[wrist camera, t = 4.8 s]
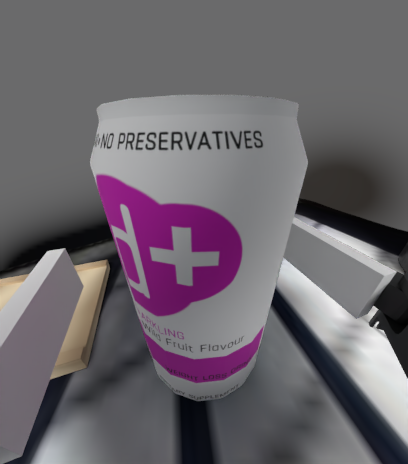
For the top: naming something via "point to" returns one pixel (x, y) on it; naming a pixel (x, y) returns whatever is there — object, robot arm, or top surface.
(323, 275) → the robot arm
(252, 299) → the supplement can
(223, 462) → the top surface
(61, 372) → the trivet
